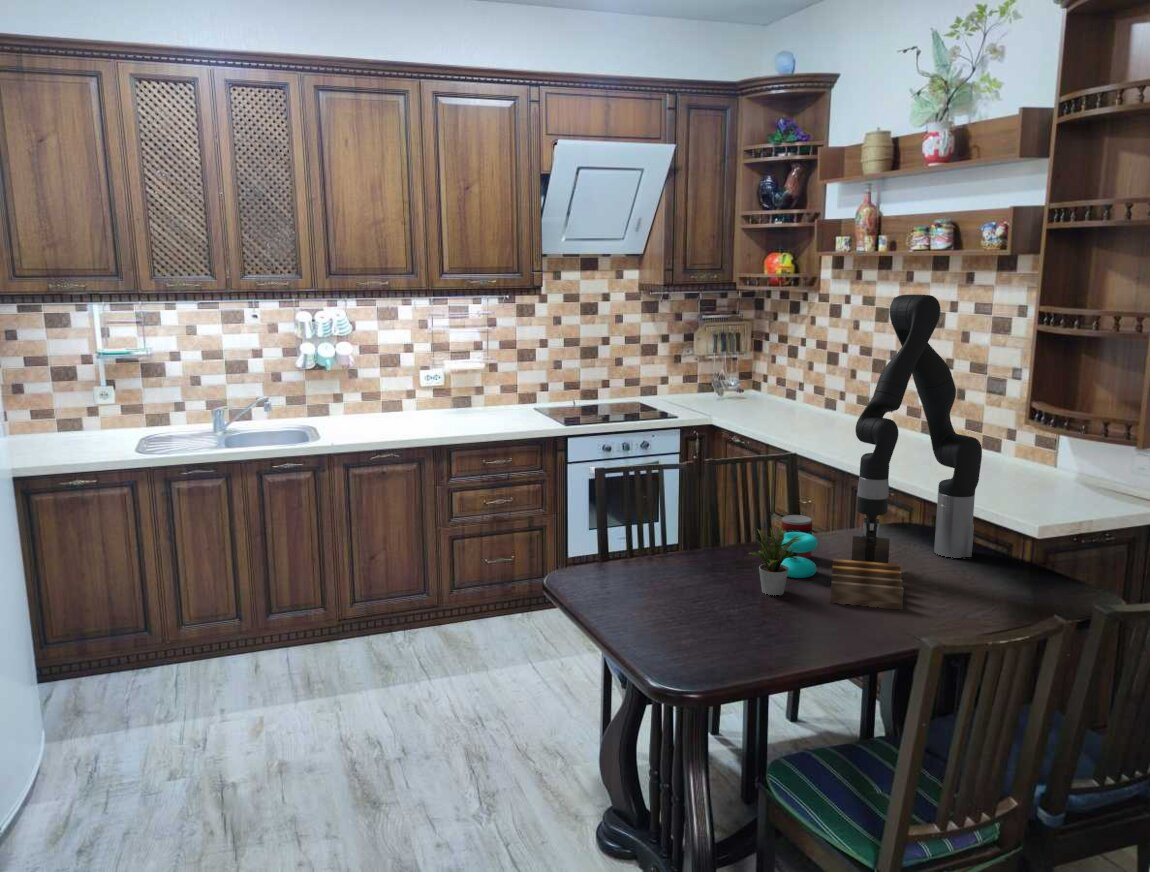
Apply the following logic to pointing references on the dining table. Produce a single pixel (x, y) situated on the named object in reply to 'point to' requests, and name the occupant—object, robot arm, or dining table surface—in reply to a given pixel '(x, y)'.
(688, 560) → the dining table surface
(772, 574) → the house plant
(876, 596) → the slotted rack
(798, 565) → the turquoise curved double lobe
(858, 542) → the metal panel
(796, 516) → the canned food
